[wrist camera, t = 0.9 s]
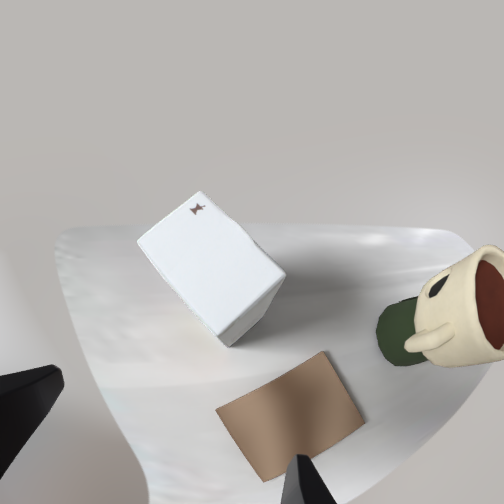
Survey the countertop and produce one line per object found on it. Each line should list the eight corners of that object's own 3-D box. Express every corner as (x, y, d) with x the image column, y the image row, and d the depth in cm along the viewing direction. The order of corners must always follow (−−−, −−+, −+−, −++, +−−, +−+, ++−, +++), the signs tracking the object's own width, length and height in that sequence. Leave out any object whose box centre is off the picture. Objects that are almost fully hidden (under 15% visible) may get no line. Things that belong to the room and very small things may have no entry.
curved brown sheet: (263, 480, 17) (263, 482, 16) (215, 408, 19) (215, 410, 19) (362, 422, 19) (365, 423, 18) (321, 351, 22) (323, 351, 21)
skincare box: (181, 298, 23) (131, 238, 12) (217, 267, 24) (201, 184, 13) (228, 351, 21) (216, 340, 10) (265, 317, 23) (292, 271, 12)
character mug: (426, 284, 24) (514, 229, 12) (445, 345, 22) (542, 318, 10) (341, 318, 23) (431, 268, 11) (362, 391, 20) (467, 401, 8)
